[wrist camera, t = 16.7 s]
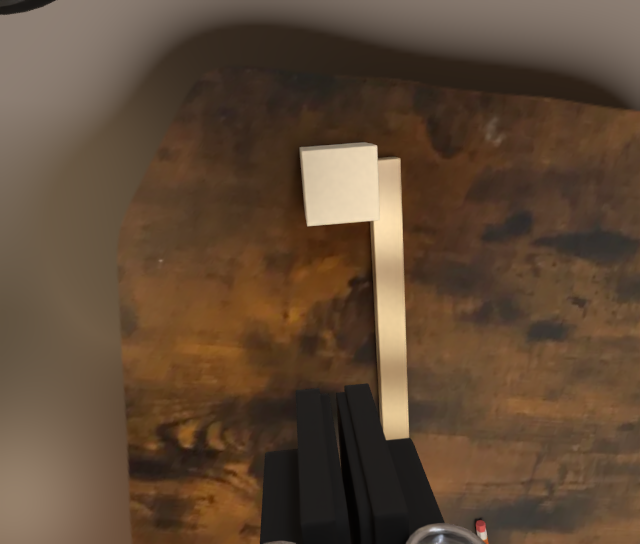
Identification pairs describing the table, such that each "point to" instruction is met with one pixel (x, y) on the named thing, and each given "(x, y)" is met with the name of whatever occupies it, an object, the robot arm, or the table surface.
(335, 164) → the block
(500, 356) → the table surface
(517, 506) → the table surface
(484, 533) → the pencil
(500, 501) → the table surface
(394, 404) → the rail
